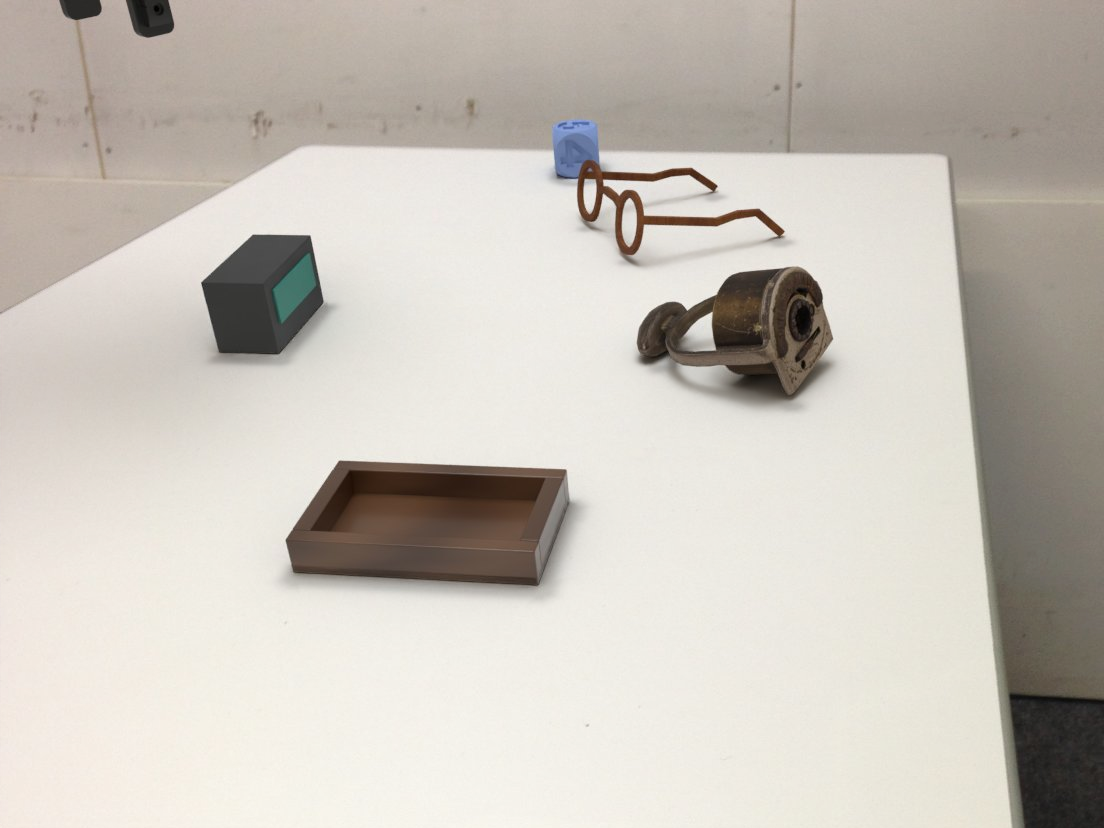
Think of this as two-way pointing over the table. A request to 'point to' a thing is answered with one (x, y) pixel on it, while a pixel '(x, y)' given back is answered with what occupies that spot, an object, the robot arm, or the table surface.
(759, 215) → the glasses
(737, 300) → the antique brass mechanism
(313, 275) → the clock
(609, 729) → the table surface
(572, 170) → the decorative dice
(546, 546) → the tray
